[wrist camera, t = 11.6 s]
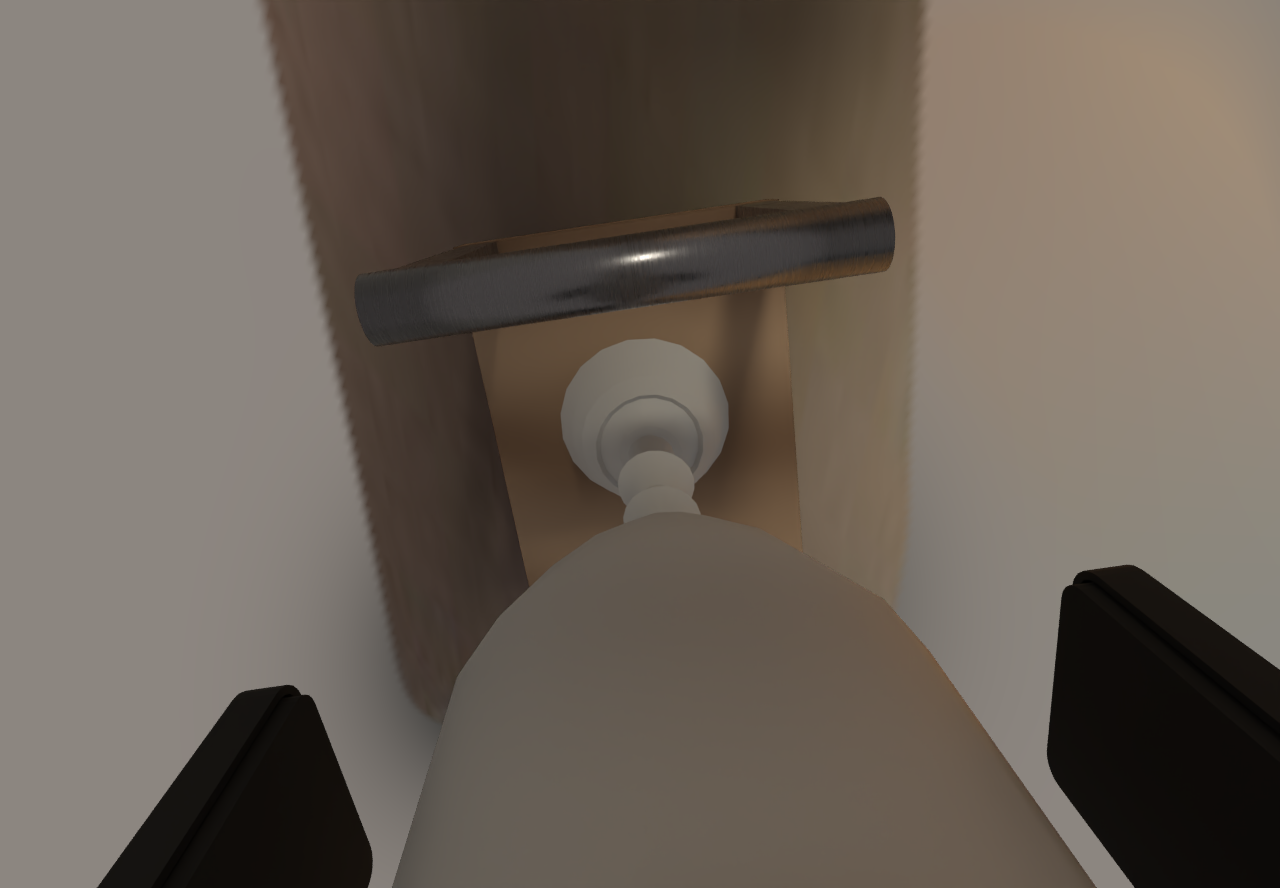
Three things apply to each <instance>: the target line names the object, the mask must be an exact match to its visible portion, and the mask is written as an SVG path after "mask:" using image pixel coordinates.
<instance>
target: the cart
mask: <svg viewBox="0 0 1280 888" xmlns="http://www.w3.org/2000/svg"><path fill="white" fill-rule="evenodd" d="M894 248H895V229H894V221H893V216H892V212H891V209H890V207H889V205H888V203H887V201H886V200H885V199H884V198H882V197H876V198H870V199H863V200H856V201H850V202H808V201H779V199H765V200H758V201H751V202H745V203H738V204H731V205H724V206H718V207H711V208H704V209H698V210H691V211H684V212H677V213H671V214H664V215H657V216H650V217H644V218H637V219H630V220H624V221H617V222H610V223H603V224H597V225H590V226H583V227H576V228H570V229H563V230H556V231H550V232H543V233H536V234H529V235H523V236H516V237H509V238H502V239H496V240H489V241H482V242H476V243H469V244H463V245H460V246H457V247H454V248H453V250H450V251H447V252H444V253H441V254H438V255H435V256H432V257H429V258H426V259H423V260H420V261H417V262H414V263H412V264H409V265H406V266H403V267H400V268H397V269H392V270H385V271H378V272H371V273H365V274H360V275H359V276H358V277H357V279H356V282H355V303H356V309H357V313H358V317H359V320H360V323H361V326H362V328H363V331H364V333H365V335H366V336H367V338H368V339H369V341H370V342H371V343H372V344H373V345H375V346H384V345H391V344H397V343H404V342H411V341H418V340H424V339H431V338H438V337H445V336H452V335H458V334H465V333H472V334H473V339H474V343H475V348H476V352H477V357H478V361H479V365H480V370H481V374H482V379H483V383H484V388H485V392H486V397H487V401H488V406H489V410H490V414H491V419H492V423H493V428H494V432H495V437H496V441H497V446H498V450H499V455H500V459H501V463H502V468H503V472H504V477H505V481H506V486H507V490H508V495H509V499H510V504H511V508H512V513H513V517H514V521H515V526H516V530H517V535H518V539H519V544H520V548H521V553H522V557H523V562H524V566H525V570H526V575H527V579H528V584H529V587H530V586H531V585H533V584H534V583H535V582H536V581H537V580H538V579H539V578H540V577H541V576H542V575H543V574H544V573H545V572H546V571H547V570H548V569H549V568H550V567H551V566H553V565H554V564H555V563H557V562H558V561H560V560H561V559H562V558H564V557H565V556H567V555H568V554H570V553H571V552H572V551H574V550H575V549H577V548H578V547H579V546H581V545H582V544H584V543H585V542H587V541H588V540H589V539H591V538H592V537H594V536H595V535H597V534H599V533H602V532H604V531H607V530H609V529H612V528H614V527H617V526H619V525H622V524H624V521H623V516H624V513H625V509H626V505H625V504H624V502H623V500H622V498H621V496H619V495H617V494H615V493H613V492H611V491H609V490H607V489H605V488H604V487H602V486H600V485H598V484H597V483H595V482H593V481H591V480H590V479H589V478H588V477H587V476H586V475H585V474H584V473H583V471H582V470H581V469H580V468H579V467H578V466H577V465H576V464H575V463H574V462H573V460H572V458H571V455H570V453H569V451H568V449H567V447H566V444H565V442H564V440H563V434H562V424H561V410H562V405H563V401H564V397H565V393H566V389H567V387H568V386H569V384H570V383H571V381H572V379H573V378H574V376H575V375H576V373H577V372H578V370H579V368H580V367H581V366H582V365H583V364H585V363H586V362H587V361H588V360H590V359H591V358H592V357H593V356H594V355H596V354H597V353H598V352H599V351H601V350H602V349H605V348H607V347H610V346H613V345H615V344H618V343H620V342H623V341H626V340H635V339H653V338H655V339H659V340H663V341H667V342H670V343H674V344H678V345H681V346H683V347H685V348H686V349H688V350H689V351H691V352H692V353H694V354H695V355H697V356H699V357H700V358H702V359H703V360H704V361H705V362H706V363H707V365H708V366H709V367H710V368H711V370H712V371H713V372H714V373H715V375H716V376H717V377H718V378H719V380H720V382H721V385H722V388H723V390H724V393H725V396H726V399H727V402H728V417H729V429H728V432H727V435H726V439H725V442H724V445H723V448H722V451H721V453H720V455H719V456H718V457H717V459H716V460H715V461H714V463H713V464H712V466H711V467H710V468H709V470H708V471H707V472H706V473H705V474H704V475H703V476H702V477H701V478H700V479H699V480H698V481H697V482H696V483H695V484H694V492H693V495H692V499H693V500H694V501H695V502H696V504H697V506H698V508H699V511H700V513H701V515H705V516H710V517H714V518H718V519H722V520H727V521H731V522H735V523H739V524H743V525H747V526H751V527H756V528H760V529H762V530H763V531H765V532H767V533H769V534H770V535H772V536H774V537H776V538H778V539H779V540H781V541H783V542H785V543H786V544H788V545H790V546H792V547H793V548H795V549H797V550H799V551H800V552H802V553H803V551H802V536H801V521H800V506H799V491H798V476H797V461H796V446H795V431H794V416H793V401H792V386H791V371H790V356H789V341H788V326H787V311H786V296H785V286H790V285H797V284H803V283H810V282H817V281H824V280H831V279H837V278H844V277H851V276H858V275H864V274H871V273H878V272H884V271H886V270H887V269H888V268H889V267H890V265H891V262H892V259H893V255H894Z"/></svg>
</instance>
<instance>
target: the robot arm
mask: <svg viewBox="0 0 1280 888" xmlns="http://www.w3.org/2000/svg"><path fill="white" fill-rule="evenodd" d="M1047 759H1048V763H1049V767H1050V770H1051V772H1052V775H1053V777H1054V779H1055V780H1056V782H1057V784H1058V785H1059V787H1060V788H1061V789H1062V791H1063V792H1064V793H1065V795H1066V796H1067V797H1068V799H1069V800H1070V802H1071V803H1072V804H1073V806H1074V807H1075V808H1076V810H1077V811H1078V812H1079V814H1080V815H1081V816H1082V818H1083V819H1084V820H1085V821H1086V823H1087V824H1088V826H1089V827H1090V828H1091V830H1092V831H1093V832H1094V834H1095V835H1096V836H1097V838H1098V839H1099V840H1100V842H1101V843H1102V844H1103V846H1104V847H1105V848H1106V850H1107V851H1108V852H1109V854H1110V855H1111V857H1113V859H1114V861H1115V862H1116V863H1117V865H1118V866H1119V867H1120V869H1121V870H1122V871H1123V873H1124V874H1125V875H1126V877H1127V878H1128V879H1129V881H1130V882H1131V883H1132V885H1133V886H1134V887H1135V888H1280V670H1279V669H1278V668H1277V667H1275V666H1274V665H1272V664H1271V663H1270V662H1268V661H1267V660H1266V659H1264V658H1263V657H1261V656H1260V655H1259V654H1257V653H1256V652H1254V651H1253V650H1252V649H1250V648H1249V647H1248V646H1246V645H1245V644H1244V643H1242V642H1240V641H1239V640H1238V639H1237V638H1235V637H1234V636H1232V635H1231V634H1230V633H1228V632H1227V631H1226V630H1224V629H1223V628H1222V627H1220V626H1219V625H1217V624H1216V623H1215V622H1213V621H1212V620H1211V619H1209V618H1208V617H1206V616H1205V615H1204V614H1202V613H1201V612H1200V611H1198V610H1197V609H1195V608H1194V607H1193V606H1191V605H1190V604H1189V603H1187V602H1186V601H1184V600H1183V599H1182V598H1180V597H1179V596H1178V595H1176V594H1175V593H1174V592H1172V591H1171V590H1169V589H1168V588H1167V587H1165V586H1164V585H1163V584H1161V583H1160V582H1158V581H1157V580H1156V579H1154V578H1153V577H1151V576H1150V575H1149V574H1147V573H1146V572H1145V571H1143V570H1142V569H1140V568H1138V567H1136V566H1134V565H1122V566H1115V567H1108V568H1101V569H1094V570H1087V571H1082V572H1080V573H1078V574H1077V575H1076V577H1075V578H1074V581H1073V585H1069V586H1067V587H1066V588H1065V589H1064V591H1063V593H1062V598H1061V609H1060V620H1059V629H1058V641H1057V651H1056V661H1055V671H1054V682H1053V692H1052V702H1051V713H1050V723H1049V735H1048V744H1047ZM372 859H373V858H372V850H371V847H370V844H369V841H368V838H367V836H366V833H365V831H364V828H363V826H362V823H361V821H360V818H359V815H358V813H357V810H356V808H355V805H354V803H353V800H352V797H351V795H350V792H349V790H348V787H347V784H346V782H345V779H344V777H343V774H342V771H341V769H340V766H339V764H338V761H337V758H336V756H335V753H334V751H333V748H332V746H331V743H330V740H329V738H328V735H327V733H326V730H325V728H324V725H323V723H322V720H321V717H320V715H319V712H318V710H317V707H316V704H315V702H314V701H313V699H312V698H311V697H310V696H309V695H301V694H300V692H299V690H298V689H297V688H295V687H294V686H292V685H284V686H276V687H269V688H263V689H255V690H249V691H244V692H242V693H240V694H238V695H237V696H236V697H235V698H234V699H233V700H232V702H231V703H230V705H229V706H228V707H227V709H226V710H225V712H224V713H223V714H222V716H221V717H220V719H219V720H218V721H217V723H216V724H215V726H214V727H213V728H212V730H211V731H210V732H209V734H208V735H207V736H206V738H205V739H204V740H203V742H202V743H201V745H200V746H199V748H198V749H197V750H196V752H195V753H194V754H193V756H192V757H191V759H190V760H189V761H188V763H187V764H186V765H185V767H184V768H183V770H182V771H181V772H180V774H179V775H178V776H177V778H176V779H175V781H174V782H173V783H172V785H171V786H170V788H169V789H168V790H167V792H166V793H165V794H164V796H163V797H162V799H161V800H160V801H159V803H158V804H157V806H156V807H155V808H154V810H153V811H152V813H151V814H150V815H149V817H148V818H147V819H146V821H145V822H144V824H143V825H142V826H141V828H140V829H139V830H138V832H137V833H136V835H135V836H134V837H133V839H132V840H131V842H130V843H129V845H128V846H127V847H126V848H125V850H124V851H123V853H122V854H121V855H120V857H119V858H118V860H117V861H116V862H115V864H114V865H113V866H112V868H111V869H110V871H109V872H108V873H107V875H106V876H105V878H104V879H103V880H102V882H101V883H100V884H99V886H98V887H97V888H368V885H369V882H370V878H371V874H372V862H373V860H372Z"/></svg>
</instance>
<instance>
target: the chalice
mask: <svg viewBox="0 0 1280 888" xmlns="http://www.w3.org/2000/svg"><path fill="white" fill-rule="evenodd" d="M561 424H562V434H563V440H564V442H565V444H566V447H567V449H568V451H569V453H570V455H571V458H572V460H573V462H574V463H575V464H576V465H577V466H578V467H579V468H580V469H581V470H582V471H583V473H584V474H585V475H586V476H587V477H588V478H589V479H590V480H591V481H593V482H595V483H597V484H598V485H600V486H602V487H604V488H605V489H607V490H609V491H611V492H613V493H615V494H617V495H619V496H621V498H622V500H623V502H624V504H625V505H626V509H625V513H624V516H623V521H624V524H622V525H619V526H617V527H614V528H612V529H609V530H607V531H604V532H602V533H599V534H597V535H595V536H594V537H592V538H591V539H589V540H588V541H587V542H585V543H584V544H582V545H581V546H579V547H578V548H577V549H575V550H574V551H572V552H571V553H570V554H568V555H567V556H565V557H564V558H562V559H561V560H560V561H558V562H557V563H555V564H554V565H553V566H551V567H550V568H549V569H548V570H547V571H546V572H545V573H544V574H543V575H542V576H541V577H540V578H539V579H538V580H537V581H536V582H535V583H534V584H533V585H531V586H530V587H529V588H528V589H527V590H526V591H525V592H524V593H523V594H522V595H521V596H520V597H519V598H518V599H517V600H516V601H515V602H514V603H513V604H511V605H510V606H509V607H508V608H507V609H506V610H505V611H504V612H503V613H502V614H501V615H500V616H499V617H498V618H497V620H496V621H495V623H494V624H493V626H492V627H491V628H490V630H489V631H488V633H487V634H486V636H485V637H484V638H483V640H482V641H481V643H480V644H479V646H478V647H477V648H476V650H475V651H474V653H473V654H472V656H471V657H470V659H469V660H468V661H467V663H466V664H465V666H464V667H463V669H462V670H461V671H460V673H459V674H458V676H457V679H456V682H455V685H454V689H453V692H452V695H451V698H450V702H449V705H448V708H447V711H446V714H445V718H444V721H443V724H442V727H441V731H440V734H439V737H438V740H437V744H436V747H435V750H434V753H433V757H432V760H431V763H430V767H429V770H428V773H427V776H426V779H425V783H424V786H423V789H422V792H421V796H420V799H419V802H418V805H417V808H416V812H415V815H414V818H413V821H412V825H411V828H410V831H409V834H408V838H407V841H406V844H405V848H404V851H403V854H402V857H401V860H400V863H399V867H398V870H397V873H396V876H395V880H394V883H393V886H392V888H1096V887H1095V885H1094V883H1093V882H1092V881H1091V879H1090V878H1089V876H1088V875H1087V873H1086V872H1085V871H1084V869H1083V868H1082V866H1081V865H1080V864H1079V862H1078V861H1077V859H1076V858H1075V856H1074V855H1073V854H1072V852H1071V851H1070V850H1069V848H1068V847H1067V845H1066V844H1065V842H1064V841H1063V840H1062V838H1061V837H1060V835H1059V834H1058V833H1057V831H1056V830H1055V828H1054V827H1053V825H1052V824H1051V823H1050V821H1049V820H1048V818H1047V817H1046V815H1045V814H1044V813H1043V811H1042V810H1041V808H1040V807H1039V806H1038V804H1037V803H1036V802H1035V800H1034V798H1033V797H1032V796H1031V794H1030V793H1029V792H1028V790H1027V789H1026V787H1025V786H1024V784H1023V783H1022V781H1021V780H1020V779H1019V777H1018V776H1017V774H1016V773H1015V772H1014V770H1013V769H1012V768H1011V766H1010V764H1009V763H1008V762H1007V760H1006V759H1005V757H1004V756H1003V755H1002V753H1001V752H1000V751H999V749H998V747H997V746H996V745H995V743H994V742H993V741H992V739H991V738H990V736H989V735H988V733H987V732H986V730H985V729H984V728H983V726H982V725H981V724H980V722H979V721H978V719H977V718H976V716H975V715H974V713H973V712H972V711H971V709H970V708H969V706H968V705H967V704H966V702H965V701H964V699H963V698H962V697H961V695H960V694H959V692H958V691H957V690H956V688H955V687H954V685H953V684H952V682H951V681H950V680H949V678H948V677H947V675H946V674H945V673H944V671H943V670H942V668H941V667H940V666H939V664H938V663H937V661H936V660H935V658H934V657H933V656H932V654H931V653H930V651H929V650H928V649H927V648H926V647H925V645H924V644H923V643H922V642H921V641H920V640H919V639H918V637H917V636H916V635H915V634H914V633H913V632H912V631H911V630H910V628H909V627H908V626H907V625H906V624H905V623H904V621H903V620H902V619H901V618H900V617H899V616H898V615H897V614H896V612H895V611H894V610H893V609H892V608H891V607H890V606H889V604H888V603H887V602H886V601H885V600H884V599H883V598H881V597H879V596H877V595H876V594H874V593H872V592H871V591H869V590H867V589H865V588H864V587H862V586H860V585H858V584H857V583H855V582H853V581H851V580H850V579H848V578H846V577H844V576H843V575H841V574H839V573H837V572H836V571H834V570H832V569H830V568H829V567H827V566H825V565H823V564H822V563H820V562H818V561H816V560H815V559H813V558H811V557H809V556H807V555H806V554H804V553H802V552H800V551H799V550H797V549H795V548H793V547H792V546H790V545H788V544H786V543H785V542H783V541H781V540H779V539H778V538H776V537H774V536H772V535H770V534H769V533H767V532H765V531H763V530H762V529H760V528H756V527H751V526H747V525H743V524H739V523H735V522H731V521H727V520H722V519H718V518H714V517H710V516H705V515H701V513H700V511H699V508H698V506H697V504H696V502H695V501H694V500H693V499H692V495H693V492H694V484H695V483H696V482H697V481H698V480H699V479H700V478H701V477H702V476H703V475H704V474H705V473H706V472H707V471H708V470H709V468H710V467H711V466H712V464H713V463H714V461H715V460H716V459H717V457H718V456H719V455H720V453H721V451H722V448H723V445H724V442H725V439H726V435H727V432H728V429H729V417H728V402H727V399H726V396H725V393H724V390H723V388H722V385H721V382H720V380H719V378H718V377H717V376H716V375H715V373H714V372H713V371H712V370H711V368H710V367H709V366H708V365H707V363H706V362H705V361H704V360H703V359H702V358H700V357H699V356H697V355H695V354H694V353H692V352H691V351H689V350H688V349H686V348H685V347H683V346H681V345H678V344H674V343H670V342H667V341H663V340H659V339H655V338H653V339H635V340H626V341H623V342H620V343H618V344H615V345H613V346H610V347H607V348H605V349H602V350H601V351H599V352H598V353H597V354H596V355H594V356H593V357H592V358H591V359H590V360H588V361H587V362H586V363H585V364H583V365H582V366H581V367H580V368H579V370H578V372H577V373H576V375H575V376H574V378H573V379H572V381H571V383H570V384H569V386H568V387H567V389H566V393H565V397H564V401H563V405H562V410H561Z"/></svg>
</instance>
